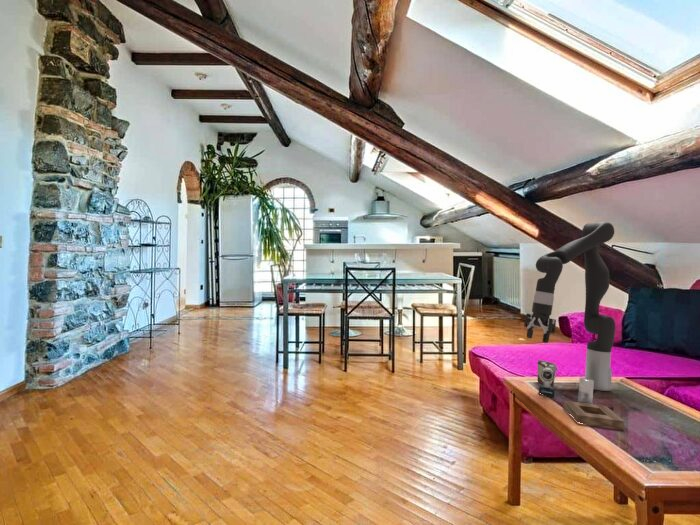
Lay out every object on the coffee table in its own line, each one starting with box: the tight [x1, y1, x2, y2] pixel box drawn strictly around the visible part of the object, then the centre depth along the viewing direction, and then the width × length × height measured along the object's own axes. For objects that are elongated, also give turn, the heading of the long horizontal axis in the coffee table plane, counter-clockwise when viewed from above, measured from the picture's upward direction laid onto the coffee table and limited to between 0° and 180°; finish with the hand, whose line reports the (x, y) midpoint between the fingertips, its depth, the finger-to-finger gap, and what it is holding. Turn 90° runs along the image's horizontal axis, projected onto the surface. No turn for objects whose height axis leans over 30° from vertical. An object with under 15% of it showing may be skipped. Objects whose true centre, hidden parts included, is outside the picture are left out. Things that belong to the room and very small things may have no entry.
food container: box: [536, 359, 558, 387], centre depth 169 cm, size 12×6×10 cm, turn 171°
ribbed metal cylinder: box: [577, 377, 594, 404], centre depth 147 cm, size 5×5×10 cm
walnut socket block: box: [563, 400, 625, 431], centre depth 133 cm, size 14×14×4 cm
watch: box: [538, 367, 556, 398], centre depth 157 cm, size 6×8×11 cm
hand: (536, 340), depth 160 cm, fingers open, 8 cm apart
